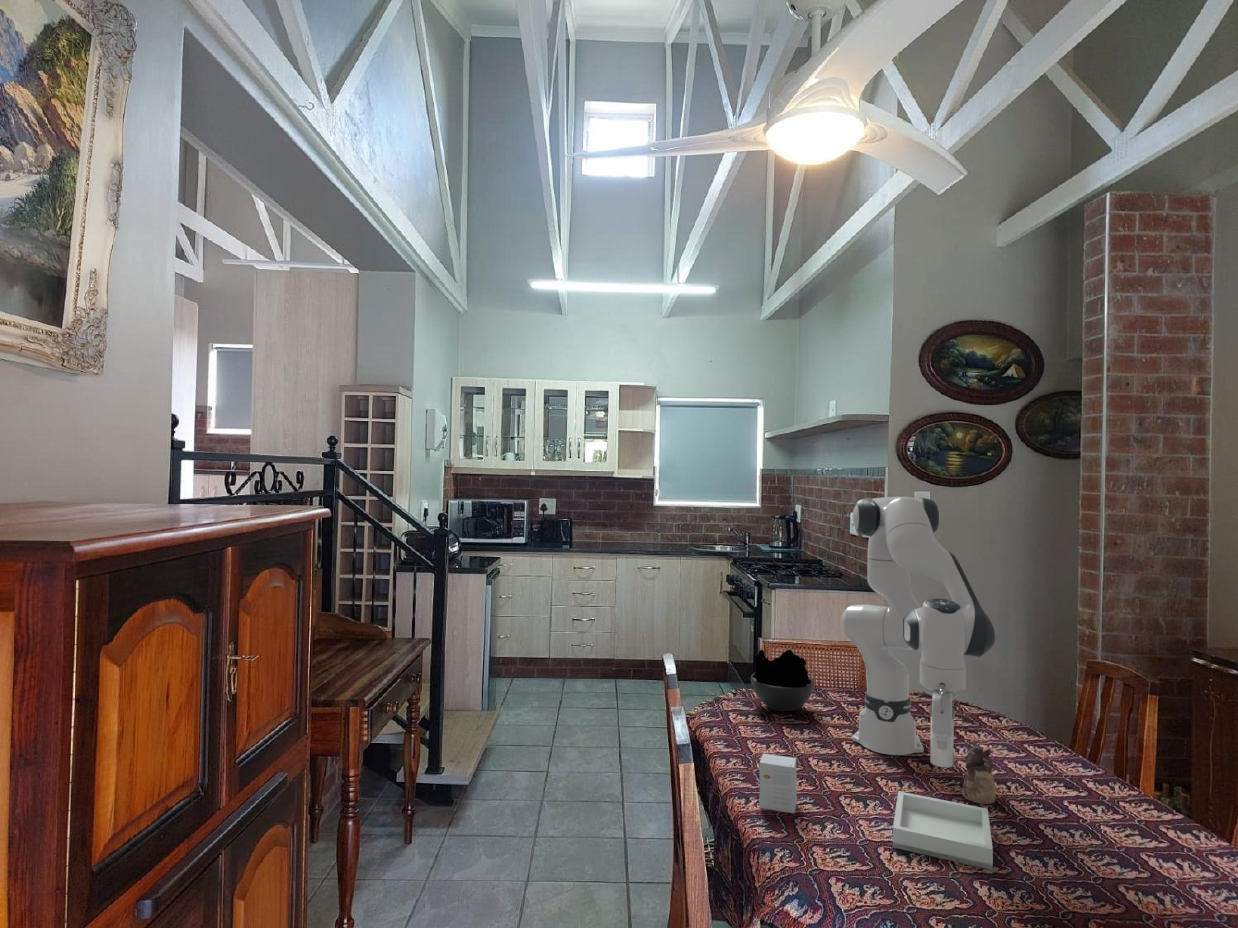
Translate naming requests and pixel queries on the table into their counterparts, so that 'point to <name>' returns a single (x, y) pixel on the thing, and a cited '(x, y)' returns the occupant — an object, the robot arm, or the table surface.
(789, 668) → the coal bowl
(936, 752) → the shaker
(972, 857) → the tray
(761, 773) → the small box
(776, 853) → the table surface
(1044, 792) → the table surface
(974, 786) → the figurine
